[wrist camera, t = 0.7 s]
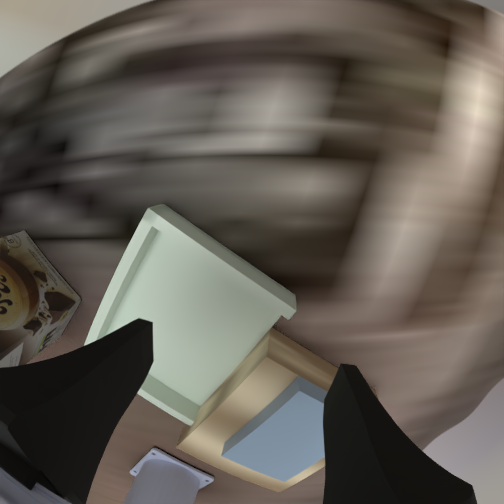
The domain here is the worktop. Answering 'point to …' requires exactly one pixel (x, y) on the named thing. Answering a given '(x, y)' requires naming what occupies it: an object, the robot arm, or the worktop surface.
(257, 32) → the worktop surface
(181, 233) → the tray
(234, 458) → the blue rectangular block
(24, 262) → the coffee box
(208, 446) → the tan flat block
